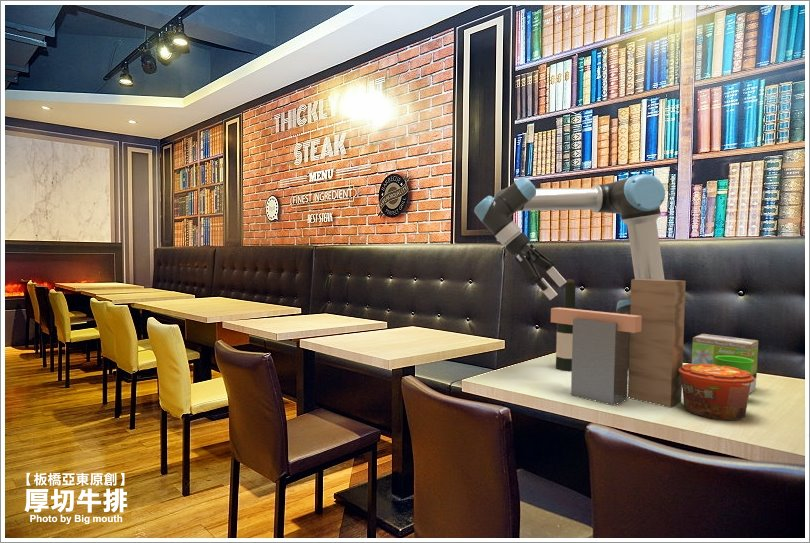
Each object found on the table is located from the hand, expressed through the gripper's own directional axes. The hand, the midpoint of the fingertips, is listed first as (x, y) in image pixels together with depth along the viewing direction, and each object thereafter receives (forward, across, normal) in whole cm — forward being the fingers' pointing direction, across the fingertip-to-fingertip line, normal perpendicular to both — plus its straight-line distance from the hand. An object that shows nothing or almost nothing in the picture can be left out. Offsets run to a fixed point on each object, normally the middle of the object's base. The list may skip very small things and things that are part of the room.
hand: (558, 290), depth 158 cm
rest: (+27, +22, -3) cm, 35 cm away
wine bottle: (+24, -9, -19) cm, 32 cm away
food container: (+44, +21, +17) cm, 52 cm away
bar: (+11, +17, +7) cm, 22 cm away
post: (+36, +17, +6) cm, 40 cm away
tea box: (+52, -8, +15) cm, 55 cm away
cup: (+51, +5, +18) cm, 54 cm away
